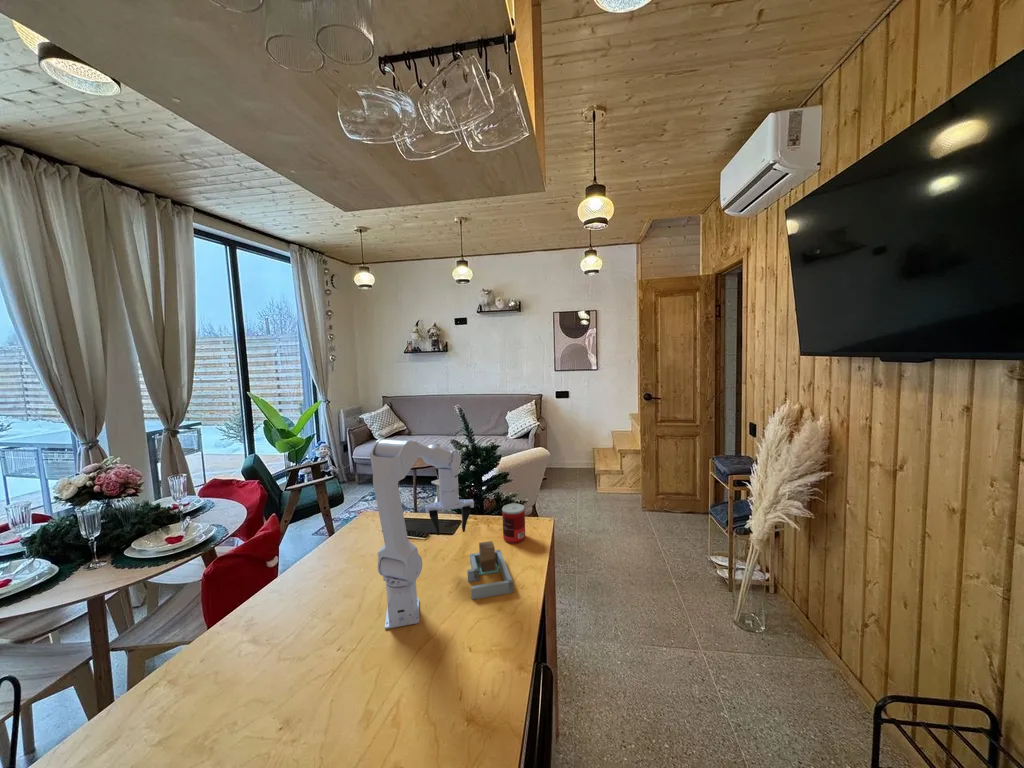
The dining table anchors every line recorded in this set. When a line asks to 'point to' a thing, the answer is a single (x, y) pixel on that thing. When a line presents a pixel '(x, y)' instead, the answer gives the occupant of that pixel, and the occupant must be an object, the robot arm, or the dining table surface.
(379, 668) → the dining table surface
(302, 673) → the dining table surface
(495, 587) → the grey open rectangular frame
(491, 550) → the block
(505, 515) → the canned food
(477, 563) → the pad
